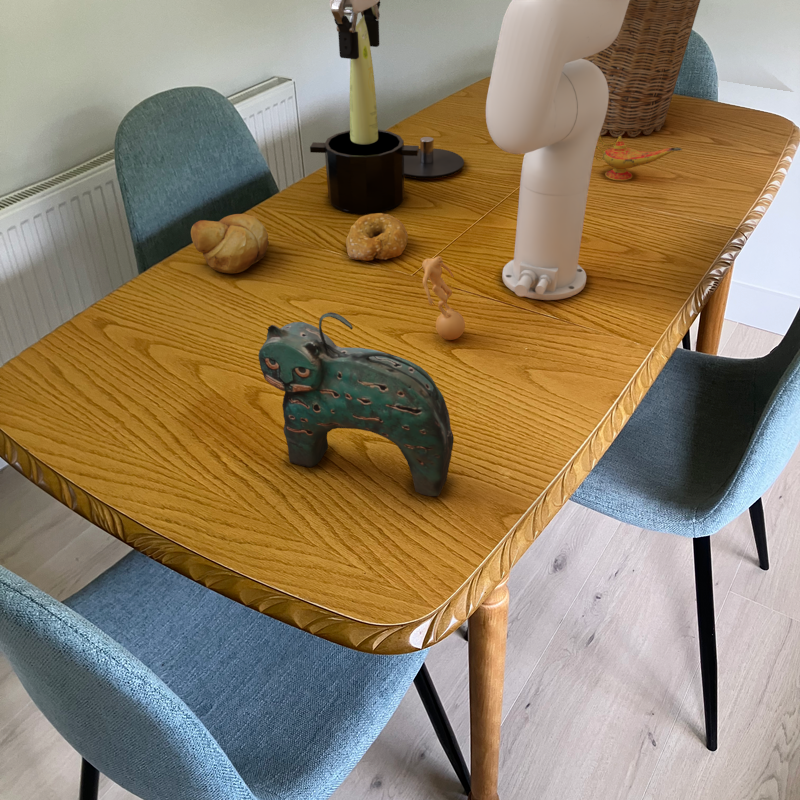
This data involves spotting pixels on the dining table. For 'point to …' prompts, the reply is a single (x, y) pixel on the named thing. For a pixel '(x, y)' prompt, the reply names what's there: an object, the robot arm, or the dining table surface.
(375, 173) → the pot
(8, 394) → the dining table surface
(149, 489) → the dining table surface
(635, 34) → the wicker basket
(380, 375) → the ceramic cat
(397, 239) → the bagel
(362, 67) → the tube
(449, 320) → the figurine
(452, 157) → the pot lid
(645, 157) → the magic lamp
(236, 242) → the bread roll
